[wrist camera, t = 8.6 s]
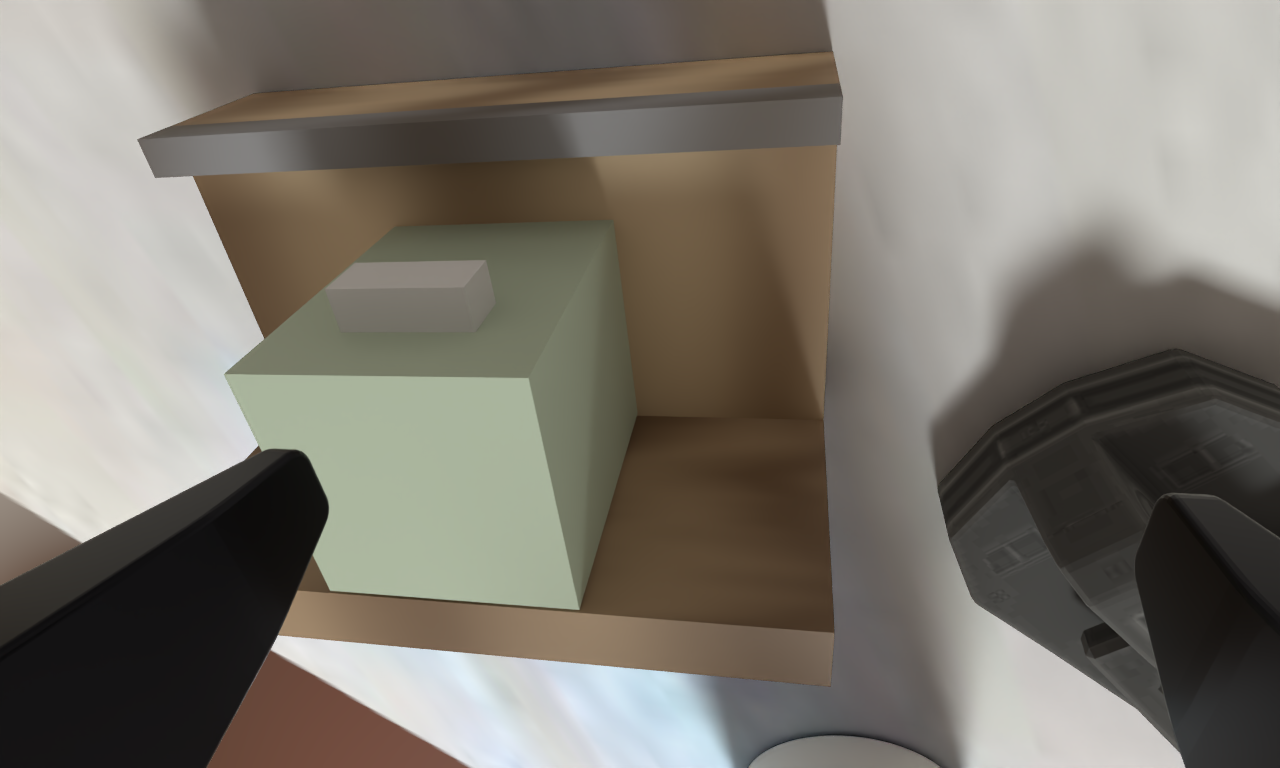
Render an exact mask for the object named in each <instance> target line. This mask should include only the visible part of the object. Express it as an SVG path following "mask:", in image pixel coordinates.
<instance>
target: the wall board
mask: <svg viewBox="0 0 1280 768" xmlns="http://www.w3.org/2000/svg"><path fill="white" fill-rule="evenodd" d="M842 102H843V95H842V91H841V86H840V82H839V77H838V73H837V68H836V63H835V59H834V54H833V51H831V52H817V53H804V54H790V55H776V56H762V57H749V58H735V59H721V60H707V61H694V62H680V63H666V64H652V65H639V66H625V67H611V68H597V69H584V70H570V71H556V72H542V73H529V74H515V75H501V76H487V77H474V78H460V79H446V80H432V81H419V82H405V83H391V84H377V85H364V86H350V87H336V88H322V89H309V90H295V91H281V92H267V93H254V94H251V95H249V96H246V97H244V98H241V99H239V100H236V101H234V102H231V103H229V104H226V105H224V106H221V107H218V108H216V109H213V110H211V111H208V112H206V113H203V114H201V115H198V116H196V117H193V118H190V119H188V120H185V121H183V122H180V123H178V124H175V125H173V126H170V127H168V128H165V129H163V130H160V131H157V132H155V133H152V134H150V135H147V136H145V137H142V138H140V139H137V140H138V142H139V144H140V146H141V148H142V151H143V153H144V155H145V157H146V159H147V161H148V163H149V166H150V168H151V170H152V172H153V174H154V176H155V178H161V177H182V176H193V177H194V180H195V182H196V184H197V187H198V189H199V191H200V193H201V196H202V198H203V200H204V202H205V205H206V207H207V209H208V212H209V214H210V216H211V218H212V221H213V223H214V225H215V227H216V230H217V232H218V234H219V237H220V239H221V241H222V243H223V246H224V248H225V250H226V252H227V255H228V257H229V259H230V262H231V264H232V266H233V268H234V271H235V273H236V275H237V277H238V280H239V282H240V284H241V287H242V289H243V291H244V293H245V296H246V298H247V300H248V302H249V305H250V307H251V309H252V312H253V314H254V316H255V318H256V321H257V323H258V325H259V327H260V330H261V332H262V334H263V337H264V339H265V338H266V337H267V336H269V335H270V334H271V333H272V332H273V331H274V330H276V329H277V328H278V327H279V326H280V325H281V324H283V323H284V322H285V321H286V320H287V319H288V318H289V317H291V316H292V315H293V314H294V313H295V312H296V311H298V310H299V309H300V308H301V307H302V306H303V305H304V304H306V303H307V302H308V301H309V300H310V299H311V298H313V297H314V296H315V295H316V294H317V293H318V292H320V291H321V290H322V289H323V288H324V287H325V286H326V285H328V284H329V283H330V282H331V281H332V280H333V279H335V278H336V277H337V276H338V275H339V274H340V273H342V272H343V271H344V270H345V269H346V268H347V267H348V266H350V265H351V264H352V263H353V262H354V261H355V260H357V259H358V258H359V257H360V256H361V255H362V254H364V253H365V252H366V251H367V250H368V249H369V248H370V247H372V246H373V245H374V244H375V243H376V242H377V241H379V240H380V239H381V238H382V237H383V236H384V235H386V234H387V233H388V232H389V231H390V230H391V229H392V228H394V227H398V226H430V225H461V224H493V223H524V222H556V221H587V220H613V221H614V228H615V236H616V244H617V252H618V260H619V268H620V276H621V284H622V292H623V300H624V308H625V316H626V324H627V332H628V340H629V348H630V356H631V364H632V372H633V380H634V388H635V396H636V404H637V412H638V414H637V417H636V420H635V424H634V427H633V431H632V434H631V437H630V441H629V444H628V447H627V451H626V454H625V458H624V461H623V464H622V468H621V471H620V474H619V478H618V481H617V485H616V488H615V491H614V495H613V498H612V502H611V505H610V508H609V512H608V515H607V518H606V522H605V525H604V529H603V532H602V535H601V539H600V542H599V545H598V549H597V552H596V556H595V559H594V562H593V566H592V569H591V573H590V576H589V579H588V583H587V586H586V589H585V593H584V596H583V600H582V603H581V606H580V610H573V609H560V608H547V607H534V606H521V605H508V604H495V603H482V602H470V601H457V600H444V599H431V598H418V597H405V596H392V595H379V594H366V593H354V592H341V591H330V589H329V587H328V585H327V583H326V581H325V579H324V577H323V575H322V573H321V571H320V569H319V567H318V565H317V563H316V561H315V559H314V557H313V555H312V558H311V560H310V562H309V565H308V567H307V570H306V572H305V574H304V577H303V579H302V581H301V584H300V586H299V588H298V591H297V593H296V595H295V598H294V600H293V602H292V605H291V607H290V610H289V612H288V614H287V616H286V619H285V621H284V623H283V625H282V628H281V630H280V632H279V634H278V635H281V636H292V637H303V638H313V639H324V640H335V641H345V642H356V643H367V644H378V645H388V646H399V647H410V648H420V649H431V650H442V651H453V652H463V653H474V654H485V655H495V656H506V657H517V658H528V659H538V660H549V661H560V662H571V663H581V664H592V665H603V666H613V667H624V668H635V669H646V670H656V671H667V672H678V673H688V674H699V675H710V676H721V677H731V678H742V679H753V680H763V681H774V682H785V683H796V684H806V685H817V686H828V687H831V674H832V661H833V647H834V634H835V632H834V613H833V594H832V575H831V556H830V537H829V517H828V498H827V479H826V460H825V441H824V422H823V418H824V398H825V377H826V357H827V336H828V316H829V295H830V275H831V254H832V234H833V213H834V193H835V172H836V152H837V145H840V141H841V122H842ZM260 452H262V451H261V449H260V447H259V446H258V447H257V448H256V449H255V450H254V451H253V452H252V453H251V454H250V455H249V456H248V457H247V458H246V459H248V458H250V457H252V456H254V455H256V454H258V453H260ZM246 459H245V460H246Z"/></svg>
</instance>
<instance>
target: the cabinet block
mask: <svg viewBox="0 0 1280 768" xmlns="http://www.w3.org/2000/svg"><path fill="white" fill-rule="evenodd" d="M224 376H225V378H226V380H227V382H228V384H229V386H230V388H231V390H232V392H233V394H234V396H235V398H236V400H237V402H238V404H239V406H240V408H241V410H242V412H243V414H244V416H245V418H246V420H247V422H248V424H249V426H250V428H251V431H252V433H253V435H254V437H255V439H256V441H257V443H258V445H259V447H260V449H261V451H264V450H267V449H274V448H277V449H296V450H299V451H302V452H303V453H305V454H306V455H307V456H308V458H309V459H310V461H311V463H312V466H313V468H314V470H315V472H316V474H317V476H318V479H319V481H320V483H321V485H322V487H323V489H324V492H325V494H326V496H327V498H328V502H329V515H328V519H327V522H326V525H325V527H324V530H323V532H322V534H321V537H320V539H319V541H318V544H317V546H316V548H315V551H314V553H313V557H314V559H315V561H316V563H317V565H318V567H319V569H320V571H321V573H322V575H323V577H324V579H325V581H326V583H327V585H328V587H329V589H330V591H341V592H354V593H366V594H379V595H392V596H405V597H418V598H431V599H444V600H457V601H470V602H482V603H495V604H508V605H521V606H534V607H547V608H560V609H573V610H580V606H581V603H582V600H583V596H584V593H585V589H586V586H587V583H588V579H589V576H590V573H591V569H592V566H593V562H594V559H595V556H596V552H597V549H598V545H599V542H600V539H601V535H602V532H603V529H604V525H605V522H606V518H607V515H608V512H609V508H610V505H611V502H612V498H613V495H614V491H615V488H616V485H617V481H618V478H619V474H620V471H621V468H622V464H623V461H624V458H625V454H626V451H627V447H628V444H629V441H630V437H631V434H632V431H633V427H634V424H635V420H636V417H637V414H638V412H637V404H636V396H635V388H634V380H633V372H632V364H631V356H630V348H629V340H628V332H627V324H626V316H625V308H624V300H623V292H622V284H621V276H620V268H619V260H618V252H617V244H616V236H615V228H614V221H613V220H587V221H556V222H524V223H493V224H461V225H430V226H398V227H394V228H392V229H391V230H390V231H389V232H388V233H387V234H386V235H384V236H383V237H382V238H381V239H380V240H379V241H377V242H376V243H375V244H374V245H373V246H372V247H370V248H369V249H368V250H367V251H366V252H365V253H364V254H362V255H361V256H360V257H359V258H358V259H357V260H355V261H354V262H353V263H352V264H351V265H350V266H348V267H347V268H346V269H345V270H344V271H343V272H342V273H340V274H339V275H338V276H337V277H336V278H335V279H333V280H332V281H331V282H330V283H329V284H328V285H326V286H325V287H324V288H323V289H322V290H321V291H320V292H318V293H317V294H316V295H315V296H314V297H313V298H311V299H310V300H309V301H308V302H307V303H306V304H304V305H303V306H302V307H301V308H300V309H299V310H298V311H296V312H295V313H294V314H293V315H292V316H291V317H289V318H288V319H287V320H286V321H285V322H284V323H283V324H281V325H280V326H279V327H278V328H277V329H276V330H274V331H273V332H272V333H271V334H270V335H269V336H267V337H266V338H265V339H264V340H263V341H262V342H261V343H259V344H258V345H257V346H256V347H255V348H254V349H252V350H251V351H250V352H249V353H248V354H247V355H245V356H244V357H243V358H242V359H241V360H240V361H239V362H237V363H236V364H235V365H234V366H233V367H232V368H230V369H229V370H228V371H227V372H226V373H225V374H224Z"/></svg>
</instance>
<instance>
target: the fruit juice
mask: <svg viewBox="0 0 1280 768" xmlns="http://www.w3.org/2000/svg"><path fill="white" fill-rule="evenodd" d="M748 768H941V767H940V766H938V765H937V764H935V763H934V762H932V761H931V760H929V759H927V758H925V757H924V756H922V755H920V754H918V753H916V752H913V751H911V750H909V749H906V748H903V747H901V746H898V745H895V744H891V743H887V742H884V741H879V740H875V739H869V738H863V737H854V736H836V735H832V736H815V737H807V738H801V739H796V740H792V741H788V742H785V743H782V744H780V745H777V746H775V747H773V748H771V749H769V750H767V751H765V752H764V753H762V754H761V755H759V756H758V757H757V758H756V759H755V760H754V761H753V762H752V763H751V764H750V766H749V767H748Z"/></svg>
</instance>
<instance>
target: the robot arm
mask: <svg viewBox="0 0 1280 768" xmlns="http://www.w3.org/2000/svg"><path fill="white" fill-rule="evenodd" d="M328 515H329V502H328V498H327V496H326V494H325V492H324V489H323V487H322V485H321V483H320V481H319V479H318V476H317V474H316V472H315V470H314V468H313V466H312V463H311V461H310V459H309V458H308V456H307V455H306V454H305V453H303V452H302V451H299V450H296V449H277V448H274V449H267V450H264V451H262V452H260V453H258V454H256V455H254V456H252V457H250V458H248V459H246V460H244V461H242V462H240V463H238V464H236V465H234V466H232V467H230V468H229V469H227V470H225V471H223V472H221V473H219V474H217V475H215V476H213V477H211V478H209V479H207V480H205V481H203V482H201V483H199V484H197V485H195V486H193V487H191V488H189V489H188V490H186V491H184V492H182V493H180V494H178V495H176V496H174V497H172V498H170V499H168V500H166V501H164V502H162V503H160V504H158V505H156V506H154V507H152V508H150V509H148V510H147V511H145V512H143V513H141V514H139V515H137V516H135V517H133V518H131V519H129V520H127V521H125V522H123V523H121V524H119V525H117V526H115V527H113V528H111V529H109V530H107V531H106V532H104V533H102V534H100V535H98V536H96V537H94V538H92V539H90V540H88V541H86V542H84V543H82V544H80V545H78V546H76V547H74V548H72V549H70V550H68V551H66V552H65V553H63V554H61V555H59V556H57V557H55V558H53V559H51V560H49V561H47V562H45V563H43V564H41V565H39V566H37V567H35V568H33V569H31V570H30V571H27V572H26V573H24V574H22V575H20V576H18V577H16V578H14V579H12V580H10V581H8V582H6V583H4V584H2V585H0V768H207V766H208V764H209V762H210V760H211V759H212V757H213V755H214V753H215V751H216V749H217V747H218V746H219V744H220V742H221V740H222V738H223V736H224V735H225V733H226V731H227V729H228V727H229V725H230V724H231V722H232V720H233V718H234V716H235V714H236V713H237V711H238V709H239V707H240V705H241V703H242V701H243V699H244V698H245V696H246V694H247V692H248V690H249V689H250V687H251V685H252V683H253V681H254V679H255V678H256V675H257V674H258V672H259V670H260V668H261V666H262V665H263V663H264V661H265V659H266V657H267V655H268V654H269V652H270V650H271V648H272V646H273V644H274V642H275V640H276V638H277V636H278V634H279V632H280V630H281V628H282V625H283V623H284V621H285V619H286V616H287V614H288V612H289V610H290V607H291V605H292V602H293V600H294V598H295V595H296V593H297V591H298V588H299V586H300V584H301V581H302V579H303V577H304V574H305V572H306V570H307V567H308V565H309V562H310V560H311V558H312V555H313V553H314V551H315V548H316V546H317V544H318V541H319V539H320V537H321V534H322V532H323V530H324V527H325V525H326V522H327V519H328ZM1134 572H1135V580H1136V584H1137V588H1138V592H1139V596H1140V601H1141V605H1142V609H1143V613H1144V617H1145V621H1146V625H1147V629H1148V633H1149V637H1150V641H1151V645H1152V649H1153V654H1154V658H1155V662H1156V666H1157V670H1158V674H1159V678H1160V682H1161V686H1162V690H1163V694H1164V698H1165V703H1166V707H1167V710H1168V714H1169V718H1170V721H1171V725H1172V729H1173V732H1174V736H1175V739H1176V742H1177V745H1178V747H1179V750H1180V753H1181V756H1182V759H1183V762H1184V765H1185V767H1186V768H1280V538H1279V537H1278V536H1276V535H1275V534H1273V533H1272V532H1270V531H1269V530H1267V529H1266V528H1264V527H1263V526H1261V525H1260V524H1258V523H1257V522H1255V521H1254V520H1253V519H1251V518H1250V517H1248V516H1247V515H1245V514H1244V513H1242V512H1241V511H1239V510H1238V509H1236V508H1235V507H1233V506H1232V505H1230V504H1229V503H1227V502H1226V501H1224V500H1222V499H1221V498H1219V497H1216V496H1213V495H1207V494H1188V493H1167V494H1164V495H1162V496H1161V497H1160V498H1159V499H1158V500H1157V502H1156V503H1155V505H1154V507H1153V510H1152V513H1151V515H1150V518H1149V520H1148V523H1147V526H1146V528H1145V531H1144V533H1143V536H1142V539H1141V541H1140V544H1139V546H1138V549H1137V552H1136V555H1135V561H1134Z"/></svg>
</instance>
